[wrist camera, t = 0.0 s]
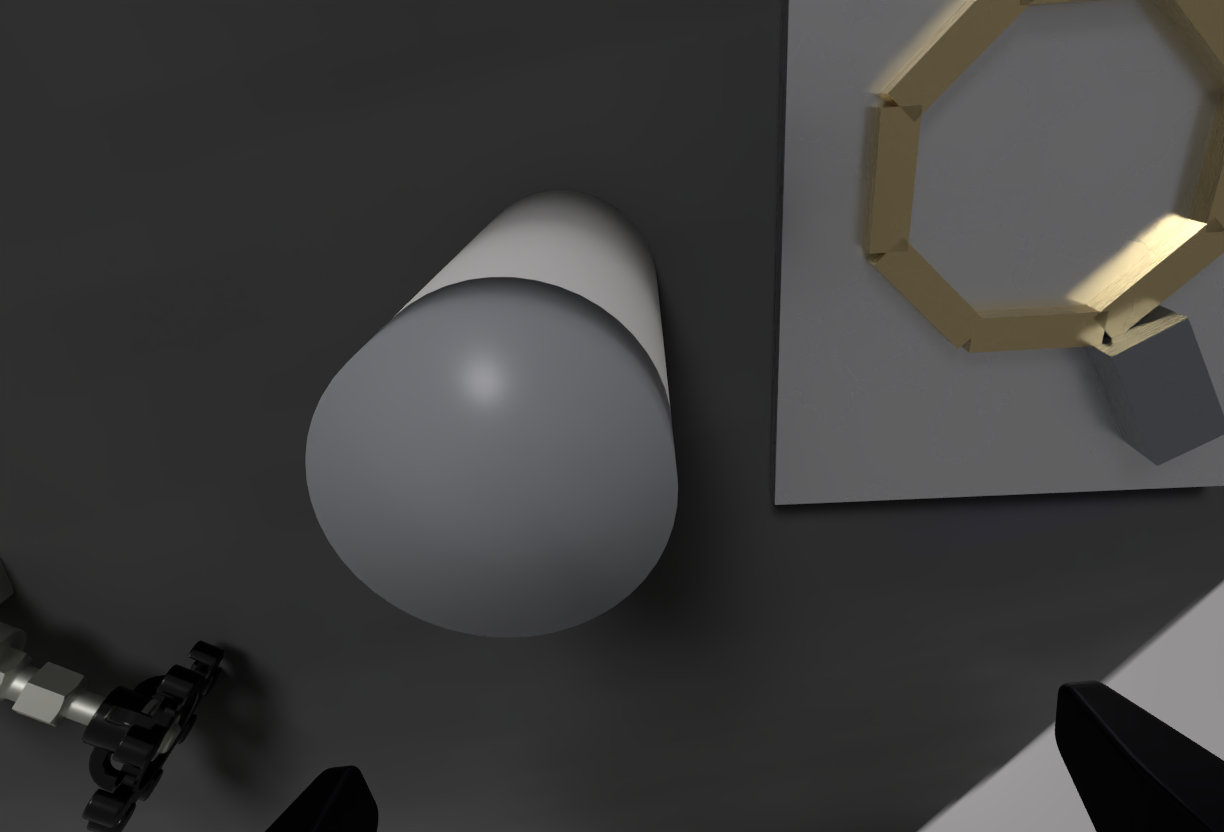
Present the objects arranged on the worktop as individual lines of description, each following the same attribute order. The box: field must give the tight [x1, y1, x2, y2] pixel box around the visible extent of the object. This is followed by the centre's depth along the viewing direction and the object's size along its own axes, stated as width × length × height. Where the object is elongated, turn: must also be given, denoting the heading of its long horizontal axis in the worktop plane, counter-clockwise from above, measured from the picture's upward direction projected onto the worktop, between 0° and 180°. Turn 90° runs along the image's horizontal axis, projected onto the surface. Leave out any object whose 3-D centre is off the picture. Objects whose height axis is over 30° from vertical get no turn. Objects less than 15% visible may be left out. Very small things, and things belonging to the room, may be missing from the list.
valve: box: [0, 560, 225, 832], centre depth 25 cm, size 7×7×12 cm
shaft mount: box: [770, 0, 1224, 505], centre depth 19 cm, size 20×14×2 cm
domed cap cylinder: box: [305, 190, 678, 638], centre depth 16 cm, size 6×6×12 cm
